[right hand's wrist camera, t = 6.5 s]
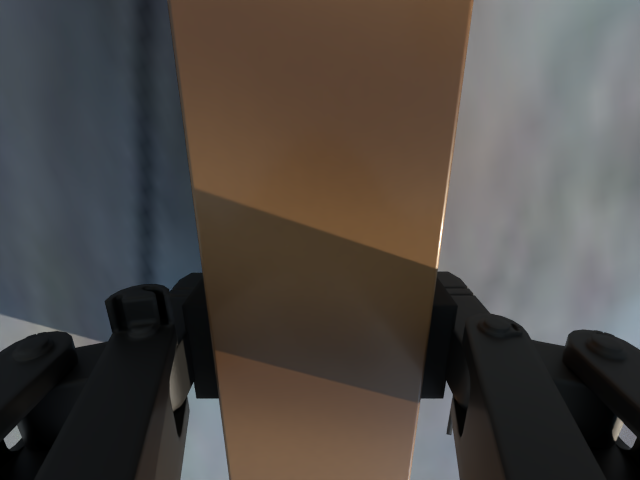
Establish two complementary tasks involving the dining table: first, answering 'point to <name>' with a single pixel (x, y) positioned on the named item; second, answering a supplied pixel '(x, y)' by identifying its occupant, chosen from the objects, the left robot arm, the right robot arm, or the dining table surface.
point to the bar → (319, 219)
